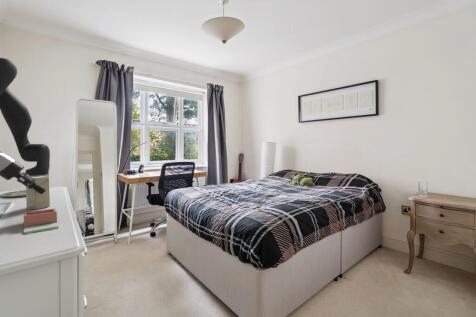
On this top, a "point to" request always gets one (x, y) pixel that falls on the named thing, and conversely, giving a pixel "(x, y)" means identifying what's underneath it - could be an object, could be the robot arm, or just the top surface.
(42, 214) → the bin
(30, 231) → the pad
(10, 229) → the top surface
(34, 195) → the skincare box
